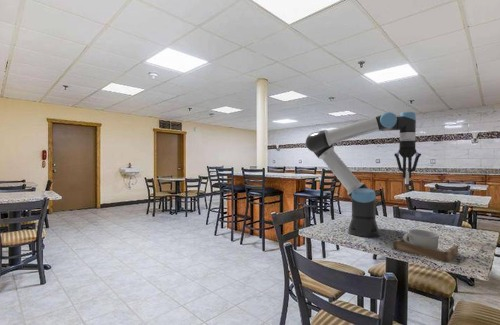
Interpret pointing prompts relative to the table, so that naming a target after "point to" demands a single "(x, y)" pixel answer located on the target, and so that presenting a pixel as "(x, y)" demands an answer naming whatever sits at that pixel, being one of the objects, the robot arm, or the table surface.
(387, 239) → the table surface
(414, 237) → the teacup
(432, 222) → the table surface
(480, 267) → the table surface
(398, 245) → the wooden tray
